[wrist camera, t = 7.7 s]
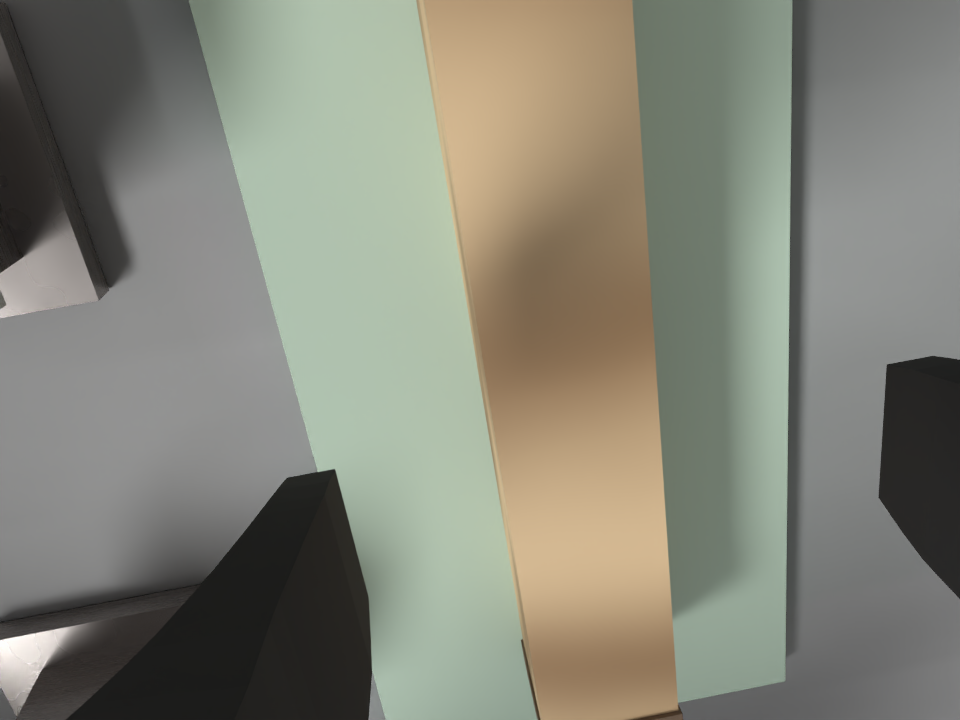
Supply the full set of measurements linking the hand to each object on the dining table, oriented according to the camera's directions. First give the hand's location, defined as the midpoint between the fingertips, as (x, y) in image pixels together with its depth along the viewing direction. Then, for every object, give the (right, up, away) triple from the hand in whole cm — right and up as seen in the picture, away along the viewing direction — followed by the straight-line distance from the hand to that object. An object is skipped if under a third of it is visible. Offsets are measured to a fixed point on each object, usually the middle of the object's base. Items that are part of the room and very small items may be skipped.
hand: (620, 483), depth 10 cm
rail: (-1, +2, +5) cm, 6 cm away
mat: (-1, +3, +6) cm, 7 cm away
